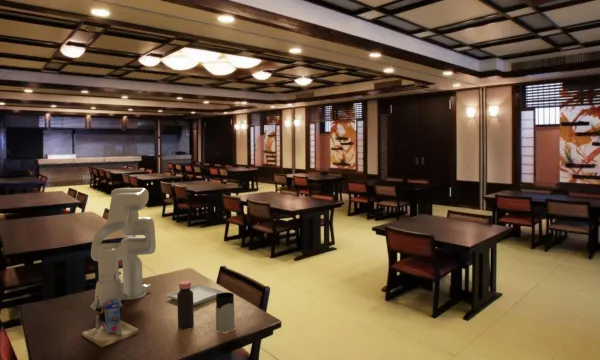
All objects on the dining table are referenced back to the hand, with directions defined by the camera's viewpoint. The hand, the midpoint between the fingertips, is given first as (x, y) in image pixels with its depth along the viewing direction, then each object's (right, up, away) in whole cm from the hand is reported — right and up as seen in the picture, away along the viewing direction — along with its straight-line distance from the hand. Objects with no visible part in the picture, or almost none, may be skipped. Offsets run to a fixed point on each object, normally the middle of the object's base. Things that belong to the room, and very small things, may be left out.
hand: (110, 318), depth 171 cm
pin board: (0, -7, 0) cm, 7 cm away
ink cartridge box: (0, -4, 0) cm, 4 cm away
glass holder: (+46, -7, +8) cm, 47 cm away
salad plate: (+25, -4, +41) cm, 49 cm away
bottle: (+30, -7, +8) cm, 31 cm away
